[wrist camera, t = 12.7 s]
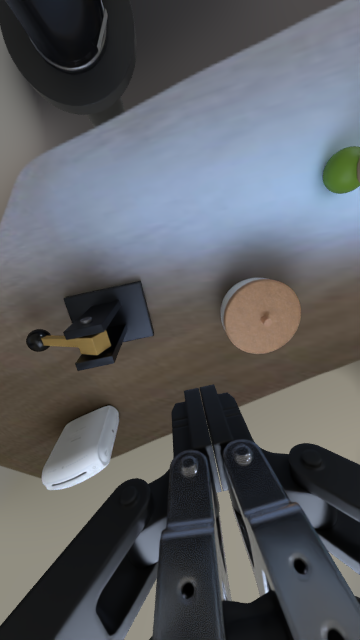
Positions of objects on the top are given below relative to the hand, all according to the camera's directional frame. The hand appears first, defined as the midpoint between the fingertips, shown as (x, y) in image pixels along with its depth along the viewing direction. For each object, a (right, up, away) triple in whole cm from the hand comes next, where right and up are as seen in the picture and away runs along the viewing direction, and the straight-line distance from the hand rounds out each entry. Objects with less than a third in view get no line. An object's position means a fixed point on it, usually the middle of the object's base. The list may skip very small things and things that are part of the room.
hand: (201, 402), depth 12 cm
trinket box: (+10, +7, +29) cm, 32 cm away
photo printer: (-17, -15, +34) cm, 41 cm away
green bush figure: (+21, +26, +24) cm, 41 cm away
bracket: (-12, +5, +28) cm, 31 cm away
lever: (-16, +2, +22) cm, 27 cm away
